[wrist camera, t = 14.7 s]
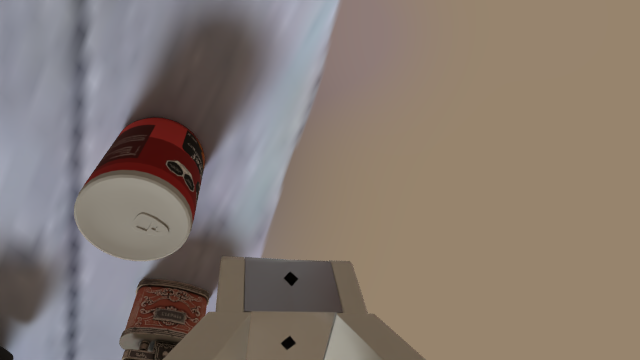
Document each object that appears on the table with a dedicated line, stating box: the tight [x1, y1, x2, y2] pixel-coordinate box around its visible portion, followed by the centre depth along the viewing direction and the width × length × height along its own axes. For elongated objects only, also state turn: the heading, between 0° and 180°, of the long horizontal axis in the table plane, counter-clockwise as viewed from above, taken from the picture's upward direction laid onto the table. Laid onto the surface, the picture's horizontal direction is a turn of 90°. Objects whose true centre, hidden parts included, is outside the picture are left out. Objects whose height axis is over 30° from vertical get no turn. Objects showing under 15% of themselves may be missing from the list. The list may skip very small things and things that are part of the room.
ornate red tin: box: [119, 279, 209, 360], centre depth 43 cm, size 8×3×10 cm, turn 67°
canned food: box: [74, 117, 205, 261], centre depth 34 cm, size 8×8×11 cm
